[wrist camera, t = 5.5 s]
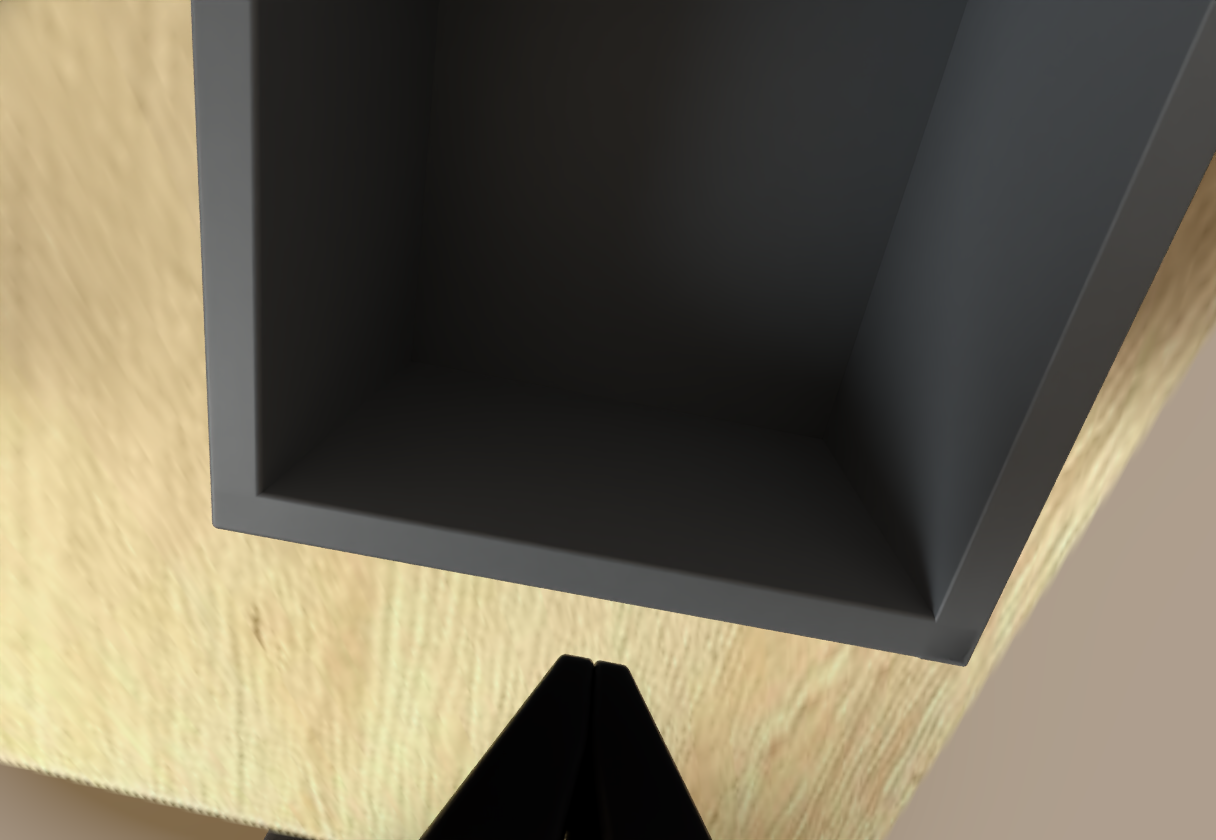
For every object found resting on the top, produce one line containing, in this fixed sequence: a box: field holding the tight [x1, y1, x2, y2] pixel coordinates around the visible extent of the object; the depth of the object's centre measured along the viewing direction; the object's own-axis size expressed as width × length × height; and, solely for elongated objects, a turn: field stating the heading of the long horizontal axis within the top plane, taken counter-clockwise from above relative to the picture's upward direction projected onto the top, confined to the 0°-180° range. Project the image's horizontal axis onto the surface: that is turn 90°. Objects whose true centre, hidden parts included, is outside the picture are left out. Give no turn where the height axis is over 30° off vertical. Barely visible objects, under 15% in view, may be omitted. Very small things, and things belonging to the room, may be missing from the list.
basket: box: [191, 0, 1216, 667], centre depth 12 cm, size 8×12×13 cm
